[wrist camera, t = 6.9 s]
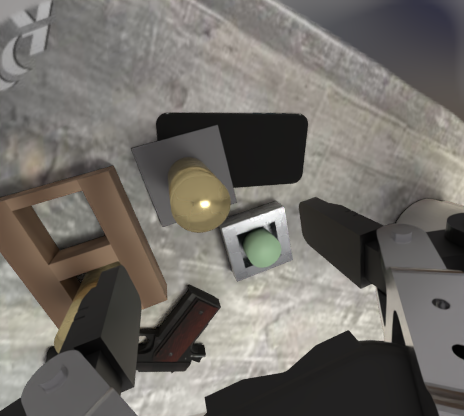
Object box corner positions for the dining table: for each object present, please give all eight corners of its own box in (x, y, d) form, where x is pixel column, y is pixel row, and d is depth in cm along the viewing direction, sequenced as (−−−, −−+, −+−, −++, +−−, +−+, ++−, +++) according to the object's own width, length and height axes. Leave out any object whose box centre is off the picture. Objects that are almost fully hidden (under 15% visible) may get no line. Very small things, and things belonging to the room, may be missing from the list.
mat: (216, 124, 23) (217, 125, 22) (235, 201, 26) (236, 202, 25) (131, 148, 21) (131, 148, 21) (162, 225, 25) (162, 227, 24)
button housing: (276, 200, 27) (284, 206, 25) (284, 251, 30) (292, 259, 28) (217, 220, 26) (221, 228, 24) (232, 271, 29) (237, 281, 27)
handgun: (51, 281, 22) (41, 380, 25) (225, 296, 28) (201, 377, 30) (62, 268, 25) (51, 361, 27) (221, 284, 30) (199, 361, 32)
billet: (203, 152, 23) (222, 168, 15) (214, 190, 24) (236, 221, 17) (161, 164, 22) (161, 186, 15) (175, 203, 24) (181, 240, 16)
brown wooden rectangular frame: (113, 165, 21) (108, 171, 19) (166, 284, 27) (167, 299, 25) (-10, 200, 20) (-32, 210, 18) (74, 319, 25) (65, 338, 23)
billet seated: (119, 254, 24) (101, 311, 17) (134, 284, 26) (124, 348, 19) (78, 268, 24) (42, 333, 16) (96, 297, 25) (71, 369, 18)
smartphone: (154, 112, 21) (309, 113, 24) (154, 112, 21) (305, 113, 25) (163, 193, 23) (301, 183, 27) (163, 191, 24) (298, 181, 28)
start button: (270, 224, 26) (278, 231, 24) (275, 251, 28) (283, 260, 26) (239, 235, 26) (245, 244, 24) (246, 262, 27) (252, 272, 25)
